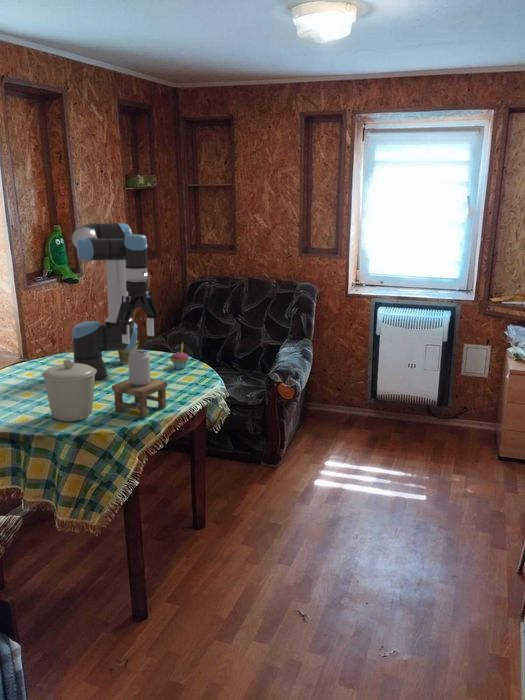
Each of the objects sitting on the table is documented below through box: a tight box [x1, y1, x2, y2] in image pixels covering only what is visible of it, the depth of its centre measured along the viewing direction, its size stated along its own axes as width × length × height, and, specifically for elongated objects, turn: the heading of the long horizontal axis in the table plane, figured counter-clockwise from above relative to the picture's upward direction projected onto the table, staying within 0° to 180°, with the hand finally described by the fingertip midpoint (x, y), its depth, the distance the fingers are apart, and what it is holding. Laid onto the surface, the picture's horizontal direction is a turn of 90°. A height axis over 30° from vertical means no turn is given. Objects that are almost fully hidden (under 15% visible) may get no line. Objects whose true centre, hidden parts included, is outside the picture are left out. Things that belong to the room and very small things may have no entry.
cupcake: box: [169, 341, 190, 369], centre depth 265 cm, size 9×8×12 cm
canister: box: [41, 358, 97, 423], centre depth 202 cm, size 18×18×21 cm
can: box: [128, 349, 151, 386], centre depth 209 cm, size 8×8×12 cm
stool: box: [111, 377, 168, 419], centre depth 212 cm, size 14×14×10 cm
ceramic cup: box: [117, 339, 140, 365], centre depth 273 cm, size 13×10×10 cm
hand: (138, 339), depth 206 cm, fingers open, 13 cm apart
